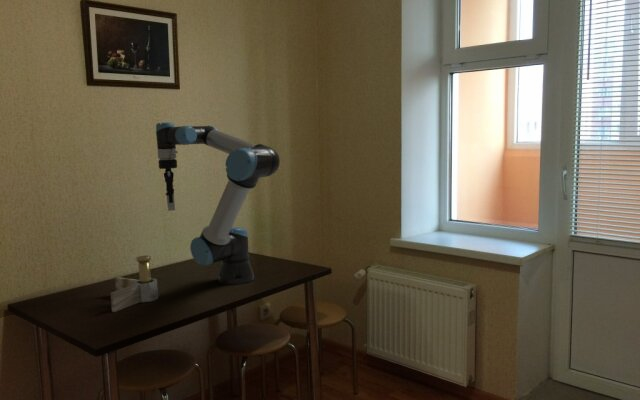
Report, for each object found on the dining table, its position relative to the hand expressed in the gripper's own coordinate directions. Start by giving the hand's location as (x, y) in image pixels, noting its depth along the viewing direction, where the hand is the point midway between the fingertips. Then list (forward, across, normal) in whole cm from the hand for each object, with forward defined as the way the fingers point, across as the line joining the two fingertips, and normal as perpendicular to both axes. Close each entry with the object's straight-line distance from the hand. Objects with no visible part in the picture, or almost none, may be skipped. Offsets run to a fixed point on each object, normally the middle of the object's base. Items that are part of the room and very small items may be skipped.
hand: (171, 208), depth 225 cm
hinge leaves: (+32, -23, +23) cm, 46 cm away
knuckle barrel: (+32, -23, +12) cm, 41 cm away
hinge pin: (+32, -23, +12) cm, 41 cm away
